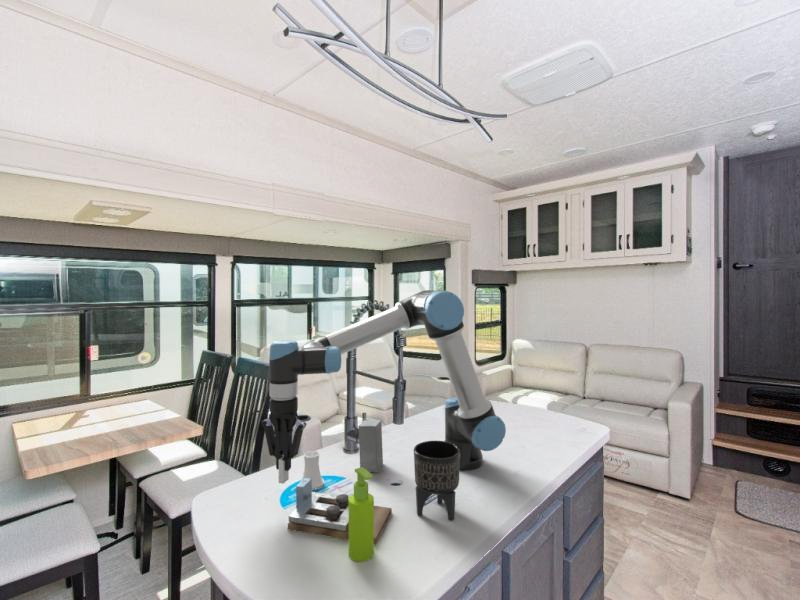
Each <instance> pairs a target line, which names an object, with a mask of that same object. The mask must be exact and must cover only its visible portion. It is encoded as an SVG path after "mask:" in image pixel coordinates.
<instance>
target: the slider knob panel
mask: <svg viewBox="0 0 800 600" xmlns="http://www.w3.org/2000/svg"><path fill="white" fill-rule="evenodd" d="M301 480H302V479H301ZM301 480H300V481H301ZM300 481H299V483H298V484H297V485H296V486H295V488H296V489H295V496H296V497H295V501H296V503H295V505H296V506H295V507H296V508H295V509H294V510H293V511H292V512H291V513H290V514H289V515H288V523H289V522H294V523H300V524H306V525H312V526H318V527H324V528H331V529H337V530H343V531H346V530H347V529H348V527H349V505H348V506H347V508H346V509H344V508H340V513H339V514H337V515H338V516H340V517H339V519H338V520H337V521H330V520H325V517H320V516H314V515H309V514H310V513H312V514H319V515H325V516H329V515H328V514H327V508H328V507H329V506H333V505H330V504H323V503H319V502H325V503H332V504H339V503H337V502H336V497H337V496H338V495H339V494H338V495H337V494H332V493H331V494H329V493H323V492H318V491H317V492H315V491H312V479H311V478H304V479H303V480H302V481H301V482H300ZM346 504H349V500H348V502H346Z"/></svg>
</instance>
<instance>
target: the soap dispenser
mask: <svg viewBox="0 0 800 600" xmlns="http://www.w3.org/2000/svg"><path fill="white" fill-rule="evenodd" d="M354 473H356V475H357V476H356V477H357V481H355V482H354V483H353V494H351V495H350V496H348V497H349V540H348V556H349V559H350V560H353V561H355V562H358V563H359V562H360V563H362V562H367V561H369V560H370V559H372V558H373V556H374V555H375V551H374V550H375V544H374V506H375V504H374V503H375V502H374V501H375V499H374V496H373V495H372V494H371V493H369V482H368V480H370V479H373V478H374V476H373V474H372V472H369V471H367V470H366V469H364V468H362V467H360V466H359V467H358V468H355V469H354Z"/></svg>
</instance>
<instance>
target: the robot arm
mask: <svg viewBox="0 0 800 600" xmlns="http://www.w3.org/2000/svg"><path fill="white" fill-rule="evenodd" d="M464 316H465V309H464V304H463V302H462V300H461V298H460V297H459V296H458V295H457V294H456V293H453V292H451V291H448V290H444V289H437V290H422V291H420V292H417V293H414V294H412V295H410V296H409V297H406V298H404V299H403V300H400V301H398V302H396V303H395V305H394V306H393V307H392V308H389V309H387V310H384V311H382V312H380V313H377V314H373V315H372V316H370V317H367V318H364V319H363V320H361V321H358V322H355V323H353V324H351V325H348V326H346V327H344V328H341V329H339V330H337V331H334V332H332V333H329V334H327V335H325V336H322V337H320V338H318V339H310V340H308V341H306V342H305V343H304V344H303V345H302V347H299V342H297V341H296V340H288V339H287V340H275V341H273V342H271V344H270V346H269V362H268V363H269V392H268V393H269V397H270V398H269V415H268V418H266V419H263V420H261V423H260V424H261V426H262V427H263V430H264V435H265V439H266V443H267V444H266V445H267V449H268V453H269V456H271V457H272V456H273V457H275V461H276V462H275V468H276V470H278V484H283V485H284V484H285V483H286V482H287V481H288V480H289V477H290V475H289V473H290V472H289V471H290V470H291V468H292V459H293V458H295V457H296V456H297V455H298V454H299V450H300V445H301V441H302V436H303V432H304V430H305V428H306V426H307V423H306V422H305V421H304V422H302V421H301V420H300V419H299V415H298V409H299V407H298V405H299V403H298V401H299V399H298V398H299V397H297V396H298V395H299V394H298V391H299V390H298V388H299V386H298V380H299V378H298V376H299V375H300V376H301V375H318V374H319V375H320V374H332V373H333V374H334V373H338V372H340V370H341V368H342V355H344V354H346V353H348V352H350V351H352V350H355V349H358V348H359V347H363V346H364V345H367V344H369V343H371V342H374V341H376V340H378V339H381V338H382V337H385V336H387V335H389V334H391V333H394V332H397V331H399V330H400V329H405V330H408V329H410V328H413V327H417V326H424V327H425V330H426V332H427V335H428V338H429V339H430V340H432V341H434V342H435V343H436V346H437V349H438V351H439V354H440V357H441V360H442V362H443V366H444V368H445V370H446V373H447V377H448V378H449V381H450V385H451V387H452V390H453V392H454V396H452V397H449V398H447V399H446V400H445V404H444V405H445V406H444V413H445V414H444V425H445V426H444V428H445V429H444V435H445V437H444V438H445V439H444V441H445V442H449V443H452V444H454V445H456V446H458V447H459V449H460V471H468V470H475V469H478V468H480V467H482V465H483V461H484V460H483V454H482V452H483V451H484V452H491V451H493V450H496V449H497V448H498V447H499V446H500V445H501V444H502V443H503V440H504V438H505V437H506V432H507V431H506V430H507V429H506V424H505V422H504V421H503V420H502V418H501V417H500V416H498V415H497V414H496V413H495V409H494V407H493V404H492V402H491V400H489V399H487V398H485V395H484V392H483V391H482V387H481V384H480V381H479V379H478V376H477V374H476V370H475V367H474V365H473V362H472V359H471V356H470V354H469V349H468V348H467V345H466V343H465V340H464V336H463V334H462V331H463V329H464V327H465V324H464V322H463V319H464V318H463V317H464ZM294 428H295V431H294ZM293 432H294V435H293Z"/></svg>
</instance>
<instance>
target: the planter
mask: <svg viewBox="0 0 800 600" xmlns="http://www.w3.org/2000/svg"><path fill="white" fill-rule="evenodd" d="M413 463H414V467H413V468H414V482H415V485H416V486H415V502H416V503H415V504H416V514H417V516H418V517H419V516H420V517H421V516H423V510H424V506H425V503H426V501H427V500H428V499H429V498H430V497H431V496H432V495H436V496H437V499H436V500H437V504H441V505H442V504H443V503H444V505H445V507H446V512H447V520H448V521H450V522H452V521H455V515H456V513H455V511H456V510H455V509H456V489H457V488H458V486H459V483H460V471H461V470H460V449H459V447H458V446H456V445H454V444H452V443H449V442H445V440H443V441H442V440H426V441H423V442H420V443H418V444H416V445H414V447H413Z"/></svg>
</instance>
